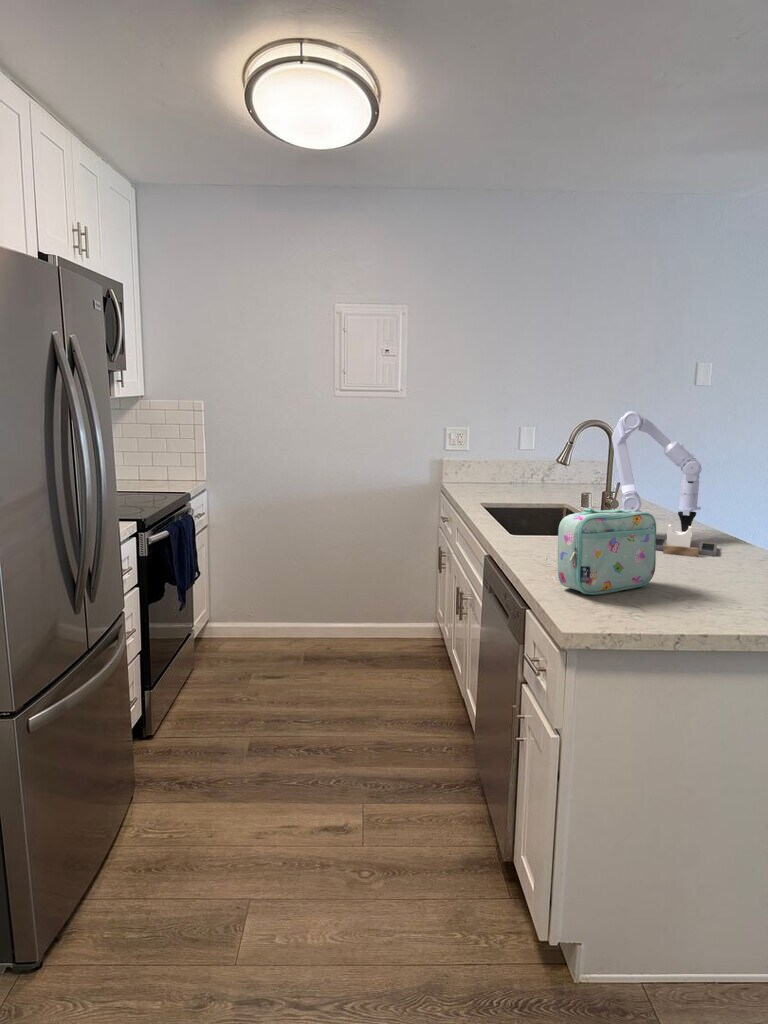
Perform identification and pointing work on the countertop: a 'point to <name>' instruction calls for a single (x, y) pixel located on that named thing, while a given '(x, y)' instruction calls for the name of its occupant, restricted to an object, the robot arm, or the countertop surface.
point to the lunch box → (606, 550)
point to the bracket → (679, 537)
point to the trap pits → (704, 548)
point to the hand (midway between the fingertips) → (685, 532)
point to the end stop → (680, 550)
